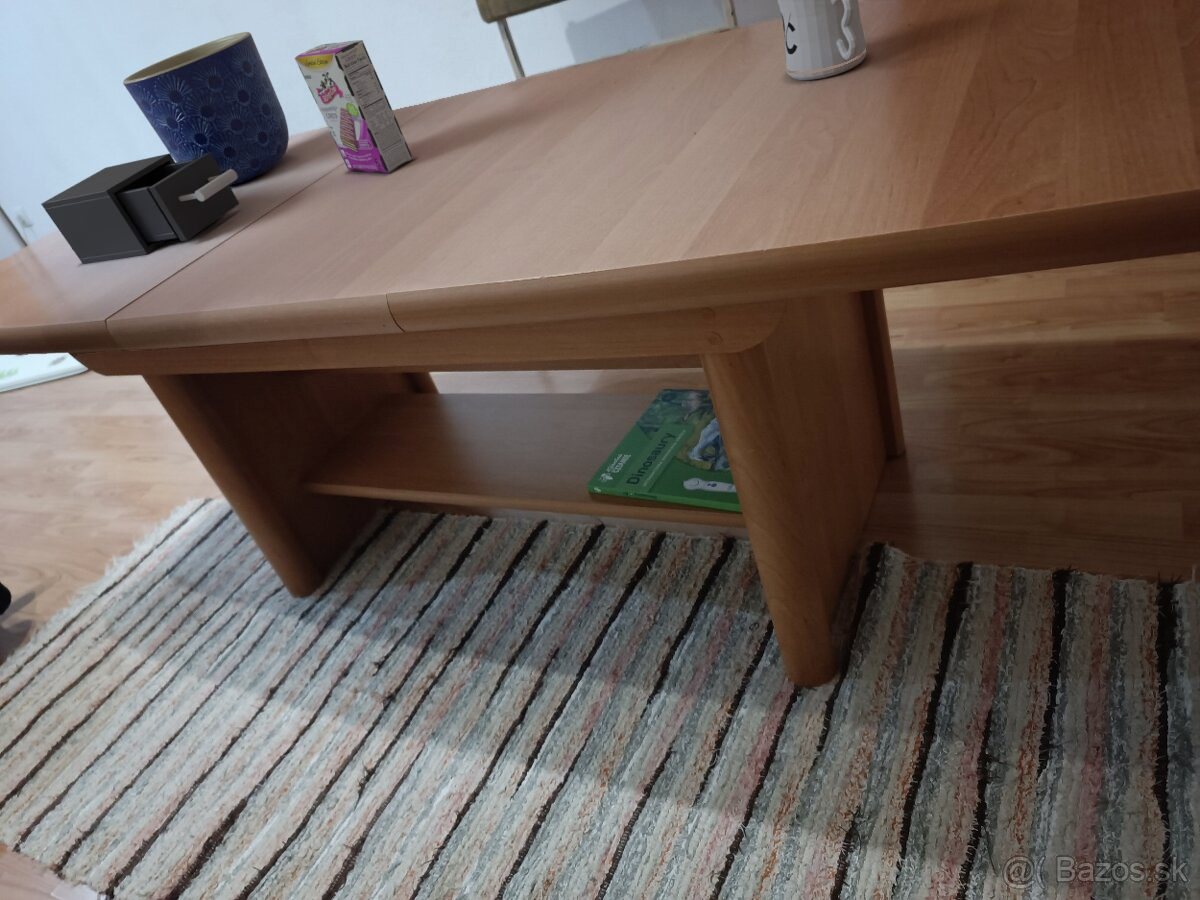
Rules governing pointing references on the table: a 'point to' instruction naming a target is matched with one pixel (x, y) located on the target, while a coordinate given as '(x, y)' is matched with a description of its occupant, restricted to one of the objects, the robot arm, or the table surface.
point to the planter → (215, 106)
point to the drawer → (178, 198)
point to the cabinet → (102, 213)
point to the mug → (821, 36)
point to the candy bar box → (354, 106)
